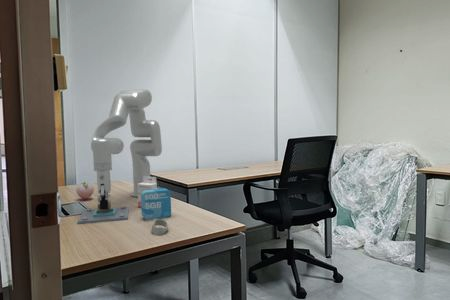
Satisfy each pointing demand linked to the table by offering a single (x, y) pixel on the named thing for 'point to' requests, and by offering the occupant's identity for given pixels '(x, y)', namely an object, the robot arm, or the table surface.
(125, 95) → the robot arm
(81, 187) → the decorative fruit
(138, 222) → the table surface
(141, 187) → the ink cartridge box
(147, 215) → the data package
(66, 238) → the table surface
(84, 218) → the baseplate
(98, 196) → the smooth beige block
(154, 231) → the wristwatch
